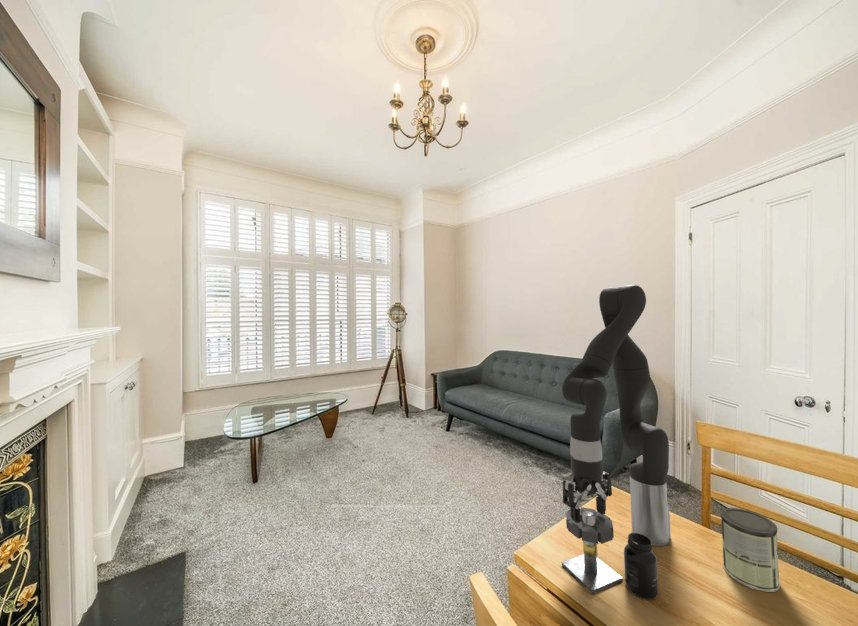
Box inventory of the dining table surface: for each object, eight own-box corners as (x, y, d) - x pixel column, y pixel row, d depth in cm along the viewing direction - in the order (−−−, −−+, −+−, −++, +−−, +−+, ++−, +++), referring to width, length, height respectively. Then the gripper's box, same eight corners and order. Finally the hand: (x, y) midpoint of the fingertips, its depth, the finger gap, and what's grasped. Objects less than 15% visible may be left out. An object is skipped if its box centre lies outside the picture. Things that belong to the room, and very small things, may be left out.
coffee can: (715, 557, 90) (712, 504, 90) (763, 565, 86) (761, 510, 86) (736, 587, 80) (733, 528, 80) (791, 597, 77) (788, 536, 77)
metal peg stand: (590, 554, 92) (587, 500, 93) (622, 580, 83) (619, 520, 83) (561, 565, 89) (559, 509, 89) (592, 594, 79) (589, 531, 80)
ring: (588, 512, 93) (587, 503, 93) (623, 535, 83) (622, 526, 83) (557, 522, 89) (557, 513, 89) (590, 548, 79) (590, 538, 79)
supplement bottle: (664, 602, 76) (661, 550, 77) (631, 598, 78) (629, 547, 78) (650, 579, 83) (648, 531, 83) (620, 575, 85) (618, 528, 85)
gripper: (594, 444, 92) (597, 503, 92) (554, 454, 87) (556, 515, 87) (618, 454, 85) (621, 518, 85) (576, 465, 80) (578, 533, 80)
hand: (588, 517), depth 86 cm, fingers open, 8 cm apart
